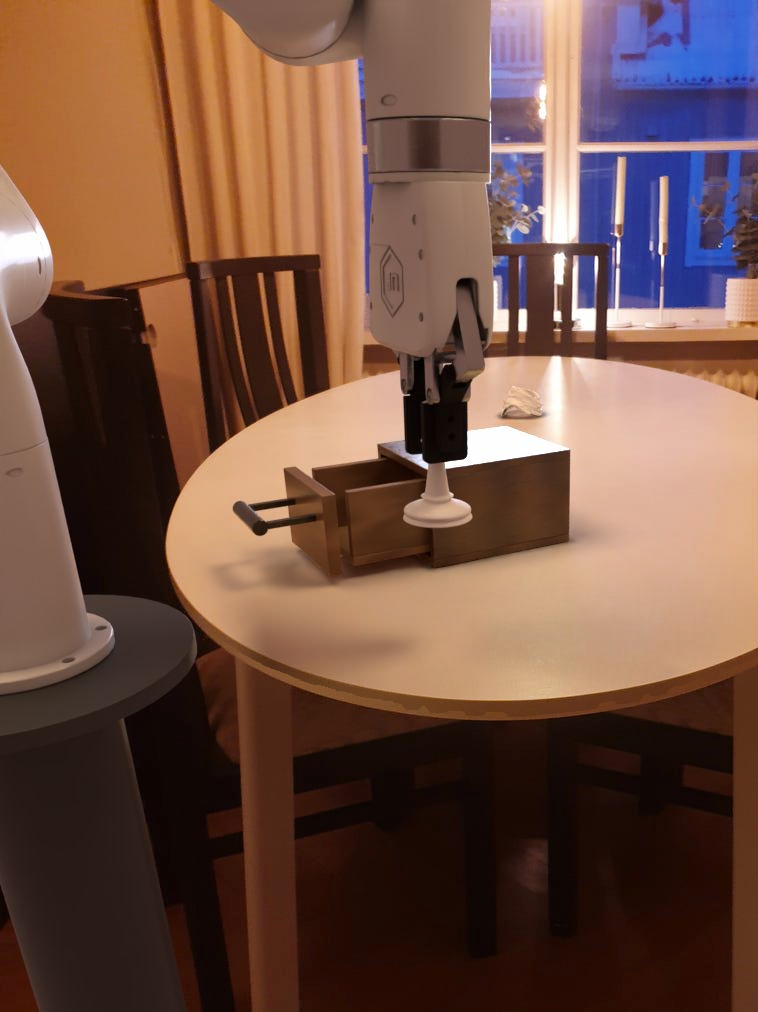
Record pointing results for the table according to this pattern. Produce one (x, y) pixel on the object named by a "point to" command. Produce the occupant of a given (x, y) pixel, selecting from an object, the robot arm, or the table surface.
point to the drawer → (347, 513)
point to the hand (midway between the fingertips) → (436, 454)
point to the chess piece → (437, 503)
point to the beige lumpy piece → (522, 401)
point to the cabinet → (499, 495)
